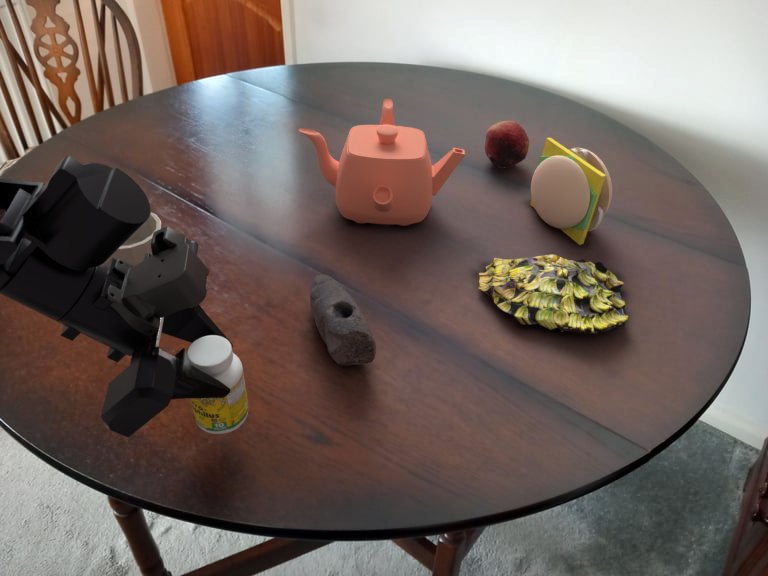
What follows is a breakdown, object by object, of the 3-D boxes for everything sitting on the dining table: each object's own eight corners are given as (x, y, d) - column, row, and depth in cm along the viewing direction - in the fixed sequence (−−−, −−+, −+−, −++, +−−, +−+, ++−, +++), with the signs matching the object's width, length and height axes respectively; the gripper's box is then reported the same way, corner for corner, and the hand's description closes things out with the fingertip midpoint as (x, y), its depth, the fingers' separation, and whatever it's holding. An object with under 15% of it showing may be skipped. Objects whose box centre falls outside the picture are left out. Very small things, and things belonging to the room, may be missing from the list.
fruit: (523, 156, 114) (532, 116, 108) (526, 178, 108) (535, 136, 103) (480, 152, 114) (487, 112, 109) (481, 174, 108) (489, 132, 103)
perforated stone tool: (299, 301, 81) (297, 260, 77) (337, 293, 83) (337, 252, 78) (336, 385, 71) (335, 343, 67) (378, 373, 73) (381, 332, 68)
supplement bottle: (259, 407, 64) (251, 343, 58) (225, 445, 60) (212, 381, 54) (219, 386, 66) (207, 321, 60) (183, 421, 62) (166, 356, 56)
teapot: (301, 203, 99) (297, 123, 90) (384, 166, 109) (388, 90, 100) (379, 258, 89) (384, 174, 80) (462, 211, 99) (475, 132, 90)
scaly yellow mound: (465, 324, 81) (467, 278, 78) (486, 277, 95) (488, 237, 92) (628, 345, 75) (636, 296, 72) (624, 292, 89) (631, 249, 87)
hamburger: (609, 235, 96) (633, 167, 88) (568, 248, 93) (589, 179, 85) (558, 196, 104) (576, 130, 96) (519, 207, 101) (534, 141, 93)
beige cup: (95, 285, 82) (84, 252, 78) (101, 243, 89) (91, 211, 85) (167, 276, 84) (160, 244, 80) (168, 236, 90) (161, 205, 87)
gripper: (111, 314, 40) (289, 407, 49) (151, 167, 54) (284, 260, 63) (21, 399, 44) (200, 471, 53) (80, 242, 58) (214, 320, 67)
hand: (228, 370), depth 59 cm, fingers closed on supplement bottle, 5 cm apart
